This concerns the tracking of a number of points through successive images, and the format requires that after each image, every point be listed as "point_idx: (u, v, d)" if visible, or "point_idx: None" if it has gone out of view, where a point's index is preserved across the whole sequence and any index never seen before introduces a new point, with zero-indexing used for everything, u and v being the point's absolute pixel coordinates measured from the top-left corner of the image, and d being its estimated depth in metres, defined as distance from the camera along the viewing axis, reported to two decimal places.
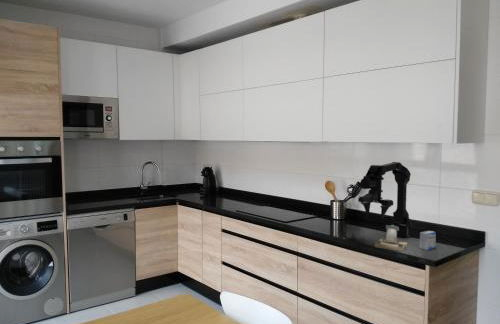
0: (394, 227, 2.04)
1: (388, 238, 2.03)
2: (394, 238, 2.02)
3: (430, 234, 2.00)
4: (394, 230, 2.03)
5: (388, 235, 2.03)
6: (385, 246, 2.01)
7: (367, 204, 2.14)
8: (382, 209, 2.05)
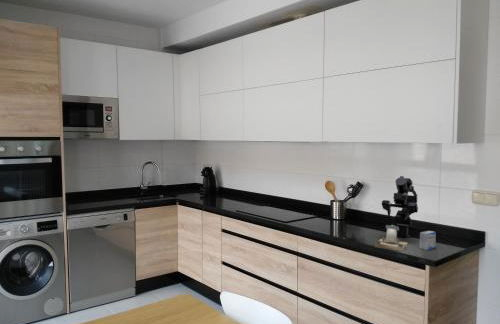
0: (394, 227, 2.04)
1: (388, 238, 2.03)
2: (394, 238, 2.02)
3: (430, 234, 2.00)
4: (394, 230, 2.03)
5: (388, 235, 2.03)
6: (385, 246, 2.01)
7: None
8: (408, 210, 2.12)
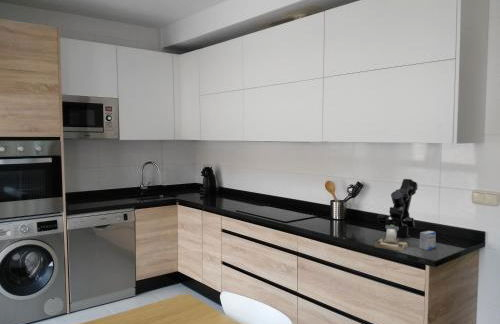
0: (394, 227, 2.03)
1: (388, 238, 2.03)
2: (394, 238, 2.02)
3: (430, 234, 2.00)
4: (394, 230, 2.02)
5: (388, 235, 2.03)
6: (385, 246, 2.01)
7: (393, 224, 2.10)
8: (396, 224, 2.08)
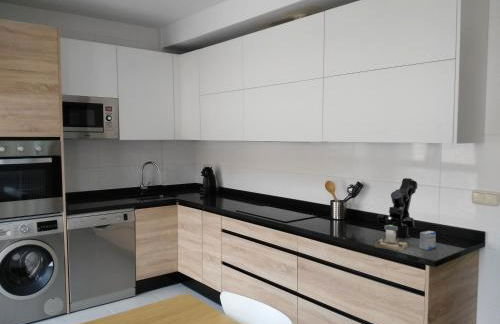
0: (393, 228, 2.01)
1: (387, 240, 2.02)
2: (393, 239, 2.01)
3: (430, 234, 2.00)
4: (393, 231, 2.01)
5: (387, 237, 2.02)
6: (385, 246, 2.01)
7: (393, 224, 2.10)
8: (396, 224, 2.07)
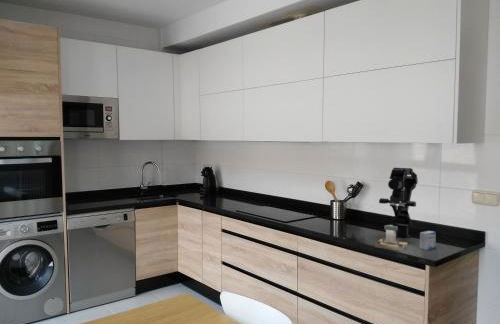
0: (393, 228, 2.01)
1: (387, 240, 2.02)
2: (393, 239, 2.01)
3: (430, 234, 2.00)
4: (393, 231, 2.01)
5: (387, 237, 2.02)
6: (385, 246, 2.01)
7: (395, 207, 2.16)
8: (398, 209, 2.14)
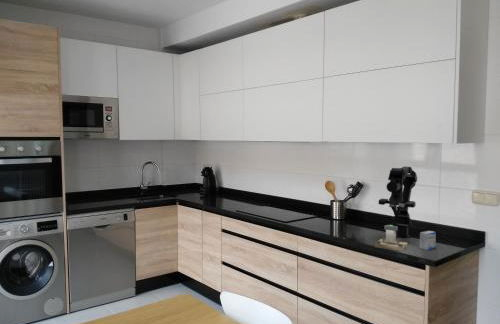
0: (393, 228, 2.01)
1: (387, 240, 2.02)
2: (393, 239, 2.01)
3: (430, 234, 2.00)
4: (393, 231, 2.01)
5: (387, 237, 2.02)
6: (385, 246, 2.01)
7: (395, 207, 2.16)
8: (398, 210, 2.14)
